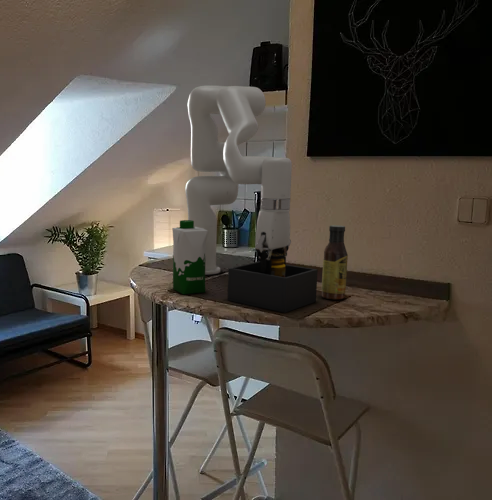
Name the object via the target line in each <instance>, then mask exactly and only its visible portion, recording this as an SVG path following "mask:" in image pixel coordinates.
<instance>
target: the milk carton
mask: <svg viewBox="0 0 492 500" xmlns="http://www.w3.org/2000/svg"><path fill="white" fill-rule="evenodd" d="M207 234H208V230H205V229H203V228H198V227H194V221H192V220H188V219H184V220H183V219H182V220H181V219H180V220H179V227H178V226H177V227H172V241H173V242H172V244H173V245H172V248H173V249H172V257H173V258H172V290H174V291H176V292H178V293H180V294H181V295H194V294H203V293H206V275H205V261H206V240H207Z"/></svg>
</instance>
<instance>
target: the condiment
mask: <svg viewBox="0 0 492 500" xmlns="http://www.w3.org/2000/svg"><path fill="white" fill-rule="evenodd" d="M284 257H285V256H284V255H283V254H281V253H276V252H272V254H271V258H270V260H272V267H271V275H274V276H280V277H285V264H284Z"/></svg>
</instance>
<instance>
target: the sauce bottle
mask: <svg viewBox="0 0 492 500" xmlns="http://www.w3.org/2000/svg"><path fill="white" fill-rule="evenodd" d="M328 227H329V237H328V241H329V242H328V243H327V245H326V246H325V248H324V250H323V259H322V272H321V273H322V276H321V297H322V298H323V299H325V300H326V299H327V300H332V301H338V300H343V299H345V295H346V291H347V289H346V288H347V287H346V286H347V277H348V276H347V275H348V274H347V273H348V261H349V260H348V259H349V258H348V257H349V255H348V252H347V249H346V245H345V232H346V226H345V225H339V224H338V225H329V226H328Z"/></svg>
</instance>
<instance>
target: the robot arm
mask: <svg viewBox="0 0 492 500" xmlns="http://www.w3.org/2000/svg"><path fill="white" fill-rule="evenodd" d="M187 99H188V100H187V113H188V119H189V122H190V132H191V133H190V164H191V165H190V166H191V167H192V169H193V170H194V171H196V172H202V173H217V172H218V173H220V175H198V176H194V177H191V178H190V179H189V180H188V181H187V182H186V184H185V188H184V189H185V191H184V193H185V199H186V205H187V220H192V221H194V227H198V228H203V229H205V230H208V234H207V240H206V261H205V276H210V275H217V274H220V273H221V271H222V270H221V267H220V266H218V265H217V242H218V241H217V237H218V218H217V215H216V213H215V212H214V210H213V208H212V207H211V206H224V205H225V206H226V205H227V206H228V205H231V204H234V203H235V202H236V200H237V199H238V196H239V185H261V186H260V210H259V212H258V216H257V221H256V228H255V229H256V230H255V247H254V249H255V251H256V253H257V255H258V260H259V261H260V273H262V274H268V275H271V267H272V260H270V258H271V254H272V253H273V250H275V253H281V254H283V255H284V256H285V257H284V264H285V268H286V265H287V257H288V251H289V248H290V245H291V244H292V240H291V214H290V211H291V196H292V195H291V194H292V193H291V192H292V175H293V173H292V172H293V162H292V160H291V159H290V158H289V157H281V156H270V155H267V156H266V155H264V156H262V155H242V153H241V151H240V149H239V145H242V144H243V143H245V142H248V141H249V140H250V139H252V138H254V136H255V135H256V134H257V132H258V130H259V123H258V121H257V119H256V117H258V116H260V115H261V114H263V113H264V111H265V109H266V96H265V93H264V92H263V91H262V90H261V89H260V88H259V87H256V86H245V85H229V86H228V85H227V86H226V85H225V86H224V85H211V84H210V85H209V84H208V85H199V86H196V87H194V88H193V89H192V90H191V92H190V93H189V96H188V98H187ZM212 115H220V117H221V119H222V121H223V123H224V126H225V128H226V131H227V133H228V135H227V137H226V139H225V141H224V142H223V141H221V142H220V141H219V139H218V138H219V136H218V135H219V128H218V124H217V123H216V121H215V119H214V118H213V116H212Z"/></svg>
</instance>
